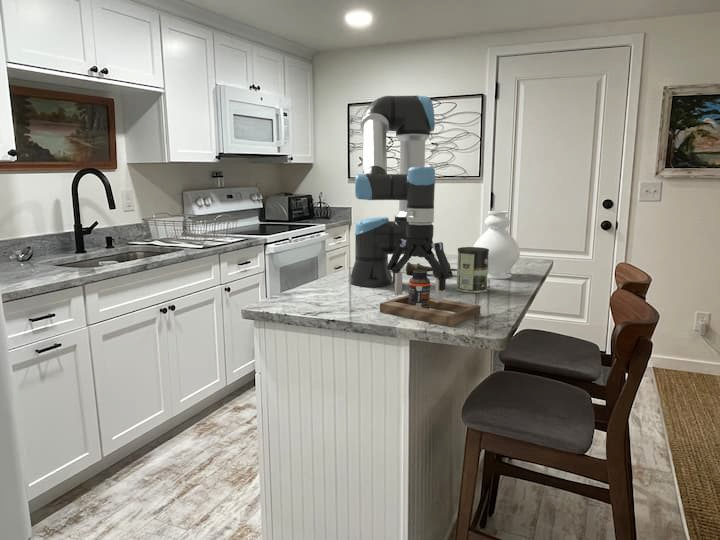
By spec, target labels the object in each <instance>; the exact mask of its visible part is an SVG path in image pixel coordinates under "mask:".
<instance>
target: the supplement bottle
mask: <svg viewBox="0 0 720 540" xmlns="http://www.w3.org/2000/svg"><path fill="white" fill-rule="evenodd" d="M430 293H431V280H430V279H429V278H428V272H427V271H423V270H415V271H413V273H412V277H411V278H410V279H409V281H408V295H409V305H414V306H420V307H423V308H426V309H429V300H430V297H431V296H430V295H431V294H430Z"/></svg>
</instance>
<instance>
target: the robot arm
mask: <svg viewBox="0 0 720 540" xmlns="http://www.w3.org/2000/svg"><path fill="white" fill-rule="evenodd" d="M435 119H436V117H435V109H434V104H433V100H432V99H431V98H430V97H429V96H426V95H425V96H424V95H417V94H416V95H384V96H381V97H378V98H377V99H374V100H373V101H371V103H370V104H369V105H367V107H366V109H365V110H364V111H363V113H362V116H361V118H360V131H361V132H362V134H363V135H362V136H363V137H362V167H361V168H362V169H361V172H362V173H358V174H356V175H355V179H354V180H355V181H354V183H355V184H354V190H355V191H354V193H355V194H354V195H355V198H356V199H357V200H364V201H398V205H399V206H398V212H397V213H396V214H395V215H394V220H391V221H390V220H389V217H387V216H381V217H380V216H378V217H370V218H366V219H365V218H364V219H360V220H357V221H356V224H355V231H354V235H355V243H354V244H355V245H354V246H355V249H354V251H355V252H354V253H355V260H354V264H353V267H352V271H351V274H350V279H349V280H350V284H352V285H354V286H357V287H358V286H359V287H366V288H367V287H369V288H370V287H371V288H377V287H386V286H390V285H392V284H394V296H396V297H397V296H400V295H402V294H403V272H402V270H403V268H404V266H405V265H407V263H408V262H409V260H410V259H411V258H412V257H414V258H415V257H417V258H424V259H425V260H426V261H427V263H428V264H429V266H430V267H432V269H433V270H434V272H435V273H436V275H437V276H438V278H436V279H435V293H434V294H435V295H434V296H435V297H434V298H435V302H436V303H438V302H441V301H443V297H444V291H445V290H446V286H447V285H446V284H447V281H446V280H447V279H448V278H451V277H453V275H454V274H453V271H451V269H452V268H451V265H450V266H449V264H450V262H449V260H448V259H447V256H446V253H445V251H444V243H443V242H442V241H439V242H435V243H434V241H433V238H434V228H435V226H434V225H433V223H434V222H435V220H434V219H435V187H436V181H437V180H436V170H435V168H434V167H431V166H426V165H425V164H426V162H425V161H426V160H425V159H426V142H427V140H428V139H429V138H430V137H431V133H432V132H434V131H435V127H436V126H435V125H436V124H435ZM388 132H395V137H396V139H397V140H398V141H399V174H397V173H396V174H395V173H388V164H387V163H388V158H387V157H388V155H387V154H388V152H387V151H388V150H387V148H388V147H387V134H388ZM433 250H434V252H435V253H434V252H433ZM389 255H391V258H390V259H389V260H388V257H389ZM401 255H403V256H402V257H401ZM435 256H436V257H435ZM388 261H389V262H388ZM438 261H439V263H440V264H439V263H438ZM448 262H449V263H448Z"/></svg>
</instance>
